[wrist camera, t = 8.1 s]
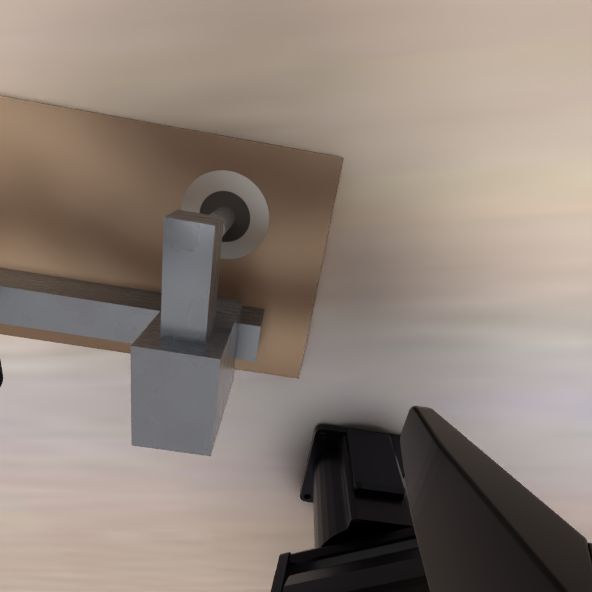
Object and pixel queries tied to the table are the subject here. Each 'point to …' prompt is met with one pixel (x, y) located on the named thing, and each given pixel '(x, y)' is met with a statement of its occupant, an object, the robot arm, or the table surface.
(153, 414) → the beam
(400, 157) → the table surface
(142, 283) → the hole plate
